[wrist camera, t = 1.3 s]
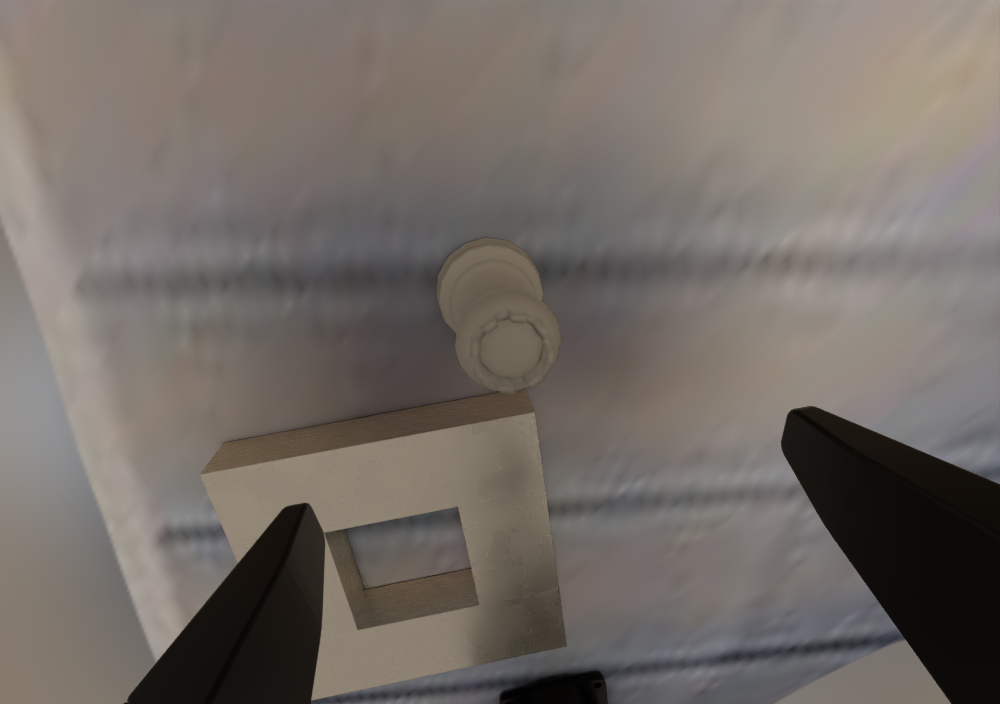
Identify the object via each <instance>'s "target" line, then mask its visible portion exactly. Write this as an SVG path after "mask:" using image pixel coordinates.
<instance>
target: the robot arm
mask: <svg viewBox="0 0 1000 704" xmlns="http://www.w3.org/2000/svg"><path fill="white" fill-rule="evenodd" d="M781 447H782V451H783V453H784V456H785V457H786V459H787V461H788V463H789V464H790V466H791V468H792V470H793V471H794V473H795V475H796V477H797V478H798V480H799V482H800V484H801V486H802V487H803V489H804V491H805V493H806V494H807V496H808V498H809V500H810V501H811V503H812V505H813V507H814V508H815V510H816V512H817V514H818V515H819V517H820V518H821V520H822V522H823V523H824V525H825V526H826V528H827V529H828V531H829V532H830V534H831V535H832V537H833V538H834V540H835V541H836V542H837V544H838V545H839V547H840V548H841V549H842V551H843V552H844V554H845V555H846V556H847V558H848V559H849V561H850V562H851V564H852V565H853V566H854V568H855V569H856V571H857V572H858V573H859V575H860V576H861V578H862V579H863V580H864V582H865V583H866V585H867V586H868V587H869V589H870V590H871V592H872V593H873V594H874V596H875V597H876V599H877V600H878V601H879V603H880V604H881V606H882V607H883V608H884V610H885V611H886V613H887V614H888V615H889V617H890V618H891V620H892V621H893V623H894V624H895V625H896V627H897V628H898V630H899V631H900V632H901V634H902V635H903V637H904V638H905V639H906V641H907V642H908V644H909V645H910V646H911V648H912V649H913V651H914V652H915V653H916V655H917V656H918V658H919V659H920V660H921V662H922V663H923V665H924V666H925V667H926V669H927V670H928V672H929V673H930V674H931V676H932V677H933V679H934V680H935V681H936V683H937V684H938V686H939V687H940V689H941V690H942V691H943V693H944V694H945V696H946V697H947V698H948V700H949V701H950V703H951V704H1000V484H998V483H996V482H993V481H991V480H988V479H986V478H984V477H981V476H979V475H977V474H974V473H972V472H969V471H967V470H965V469H962V468H960V467H957V466H955V465H953V464H950V463H948V462H946V461H943V460H941V459H938V458H936V457H934V456H931V455H929V454H927V453H924V452H922V451H919V450H917V449H915V448H912V447H910V446H908V445H905V444H903V443H900V442H898V441H896V440H893V439H891V438H888V437H886V436H884V435H881V434H879V433H877V432H874V431H872V430H869V429H867V428H865V427H862V426H860V425H858V424H855V423H853V422H850V421H848V420H846V419H843V418H841V417H839V416H836V415H834V414H831V413H829V412H827V411H824V410H822V409H819V408H817V407H814V406H807V407H802V408H797V409H793V410H791V411H790V412H789V413H788V415H787V418H786V423H785V427H784V431H783V436H782V440H781ZM324 565H325V536H324V532H323V530H322V527H321V525H320V523H319V521H318V519H317V517H316V515H315V513H314V510H313V508H312V507H311V505H310V504H309V503H300V504H294V505H289V506H286V507H285V508H283V509H282V510H281V511H280V513H279V514H278V515H277V516H276V517H275V519H274V520H273V521H272V522H271V524H270V525H269V526H268V527H267V528H266V530H265V531H264V532H263V533H262V535H261V536H260V537H259V538H258V539H257V541H256V542H255V543H254V544H253V545H252V547H251V548H250V549H249V550H248V552H247V553H246V554H245V555H244V556H243V558H242V559H241V560H240V561H239V563H238V564H237V565H236V566H235V567H234V569H233V570H232V571H231V572H230V574H229V575H228V576H227V577H226V578H225V580H224V581H223V582H222V583H221V585H220V586H219V587H218V588H217V589H216V591H215V592H214V593H213V594H212V595H211V597H210V598H209V599H208V600H207V602H206V603H205V604H204V605H203V606H202V608H201V609H200V610H199V611H198V613H197V614H196V615H195V616H194V617H193V619H192V620H191V621H190V622H189V624H188V625H187V626H186V627H185V628H184V630H183V631H182V632H181V633H180V634H179V636H178V637H177V638H176V639H175V641H174V642H173V643H172V644H171V645H170V647H169V648H168V649H167V650H166V652H165V653H164V654H163V655H162V656H161V658H160V659H159V660H158V661H157V663H156V664H155V665H154V666H153V668H152V669H151V670H150V671H149V672H148V674H147V675H146V676H145V677H144V678H143V680H142V681H141V682H140V683H139V685H138V686H137V687H136V688H135V689H134V691H133V692H132V693H131V694H130V696H129V697H128V700H127V702H128V703H127V702H126V703H123V704H311V699H312V692H313V685H314V679H315V672H316V665H317V659H318V652H319V646H320V638H321V630H322V616H323V592H324ZM500 704H608V701H607V691H606V683H605V680H604V677H603V675H602V674H599V673H597V674H591V675H586V676H582V677H577V678H573V679H568V680H563V681H559V682H554V683H549V684H545V685H540V686H535V687H531V688H526V689H521V690H517V691H512V692H507V693H504V694H502V695H501V696H500Z"/></svg>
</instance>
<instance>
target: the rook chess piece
mask: <svg viewBox="0 0 1000 704" xmlns="http://www.w3.org/2000/svg"><path fill="white" fill-rule="evenodd" d="M542 296H543V290H542V285H541V281H540V276H539V272H538V271H537V268H536V266H535V265H534V264H533V262H532V261H531V259H530V258H529V257H528V255H527V254H526V252H525V251H523V250H522V249H520V248H518V247H517V246H515V245H513V244H512V243H510V242H508V241H506V240H499V239H492V238H483V239H479V240H476V241H472V242H468V243H465V244H464V245H462V246H461V247H460V248H459V249H457V250H456V251H455V252H453V253H452V254H451V255H450V256H448V258H447V260H446V262H445V263H444V265H443V267H442V269H441V271H440V272H439V274H438V281H437V291H436V297H437V300H438V303H439V306H440V310H441V313H442V316H443V319H444V321H445V322H446V323H447V324H448V325H449V327H450V328H451V329H452V330H453V331H454V333H455V334H456V342H455V350H456V353H457V357H458V360H459V363H460V366H461V368H462V369H463V370H464V371H465V372H466V373H467V375H468V376H469V377H470V378H471V379H472V380H473V381H474V382H476V383H478V384H480V385H482V386H484V387H486V388H488V389H490V390H497V391H498V393H508V394H515V393H514V391H515V390H519V389H523V388H526V387H529V388H530V390H531V389H532V388H534V387H535V386H536V385H538V384H539V383H541V382H542V381H543V380H544V379H543V377H544V376H545V375H547V373H548V372H549V370H550V369H551V367H552V366H553V364H554V363H555V361H556V360H557V358H558V353H559V348H560V343H561V334H560V330H559V325H558V320H557V318H556V317H555V316H554V314H553V313H552V312H551V310H550V309H549V308H548V306H547V305H546V304H545V303H544V302H542Z"/></svg>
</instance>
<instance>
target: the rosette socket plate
mask: <svg viewBox="0 0 1000 704" xmlns="http://www.w3.org/2000/svg"><path fill="white" fill-rule="evenodd" d="M514 393H515V394H508V393H493V394H488V395H482V396H477V397H472V398H466V399H461V400H455V401H450V402H444V403H439V404H433V405H428V406H423V407H417V408H412V409H406V410H401V411H395V412H390V413H384V414H379V415H373V416H368V417H363V418H357V419H352V420H346V421H341V422H335V423H330V424H324V425H319V426H313V427H308V428H303V429H297V430H292V431H286V432H281V433H275V434H270V435H264V436H259V437H254V438H248V439H243V440H237V441H232V442H226V443H223V444H222V446H221V447H220V448H219V450H218V451H217V452H216V454H215V455H214V456H213V458H212V459H211V460H210V462H209V463H208V464H207V466H206V467H205V468H204V470H203V471H202V472H201V474H200V476H201V479H202V481H203V483H204V485H205V488H206V490H207V492H208V495H209V497H210V499H211V502H212V504H213V506H214V509H215V511H216V513H217V515H218V518H219V520H220V522H221V525H222V527H223V529H224V532H225V534H226V536H227V539H228V541H229V543H230V545H231V548H232V550H233V552H234V555H235V557H236V559H237V562H238V563H239V561H240V560H241V559H242V558H243V556H244V555H245V554H246V553H247V552H248V550H249V549H250V548H251V547H252V545H253V544H254V543H255V542H256V541H257V539H258V538H259V537H260V536H261V535H262V533H263V532H264V531H265V530H266V528H267V527H268V526H269V525H270V524H271V522H272V521H273V520H274V519H275V517H276V516H277V515H278V514H279V513H280V511H281V510H282V509H283V508H285V507H286V506H289V505H294V504H300V503H309V504H310V505H311V507H312V508H313V510H314V513H315V515H316V517H317V519H318V521H319V523H320V525H321V527H322V530H323V532H324V536H325V565H324V592H323V616H322V630H321V638H320V646H319V652H318V659H317V665H316V672H315V679H314V685H313V692H312V699H311V700H315V699H319V698H324V697H329V696H333V695H338V694H343V693H348V692H352V691H357V690H362V689H367V688H371V687H376V686H381V685H386V684H390V683H395V682H400V681H404V680H409V679H414V678H419V677H423V676H428V675H433V674H438V673H442V672H447V671H452V670H456V669H461V668H466V667H471V666H475V665H480V664H485V663H490V662H494V661H499V660H504V659H509V658H513V657H518V656H523V655H527V654H532V653H537V652H542V651H546V650H551V649H556V648H561V647H565V646H567V644H566V637H565V629H564V622H563V615H562V608H561V600H560V593H559V586H558V578H557V571H556V564H555V557H554V549H553V542H552V535H551V528H550V520H549V513H548V506H547V498H546V491H545V484H544V477H543V469H542V462H541V455H540V447H539V440H538V433H537V426H536V418H535V412H534V409H533V407H532V404H531V401H530V399H529V396H528V393H527V391H526V388H523V389H519V390H515V391H514ZM454 507H458V509H459V513H460V518H461V523H462V527H463V532H464V537H465V541H466V546H467V550H468V555H469V560H470V564H471V569H466V570H461V571H456V572H451V573H446V574H441V575H436V576H431V577H426V578H421V579H416V580H411V581H406V582H401V583H396V584H391V585H386V586H381V587H376V588H371V589H366V590H364V587H363V584H362V581H361V578H360V575H359V571H358V568H357V565H356V562H355V559H354V556H353V553H352V550H351V547H350V544H349V541H348V537H347V534H346V531H345V529H346V528H351V527H356V526H361V525H366V524H372V523H377V522H382V521H387V520H392V519H397V518H402V517H408V516H413V515H418V514H423V513H428V512H433V511H438V510H443V509H449V508H454Z"/></svg>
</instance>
